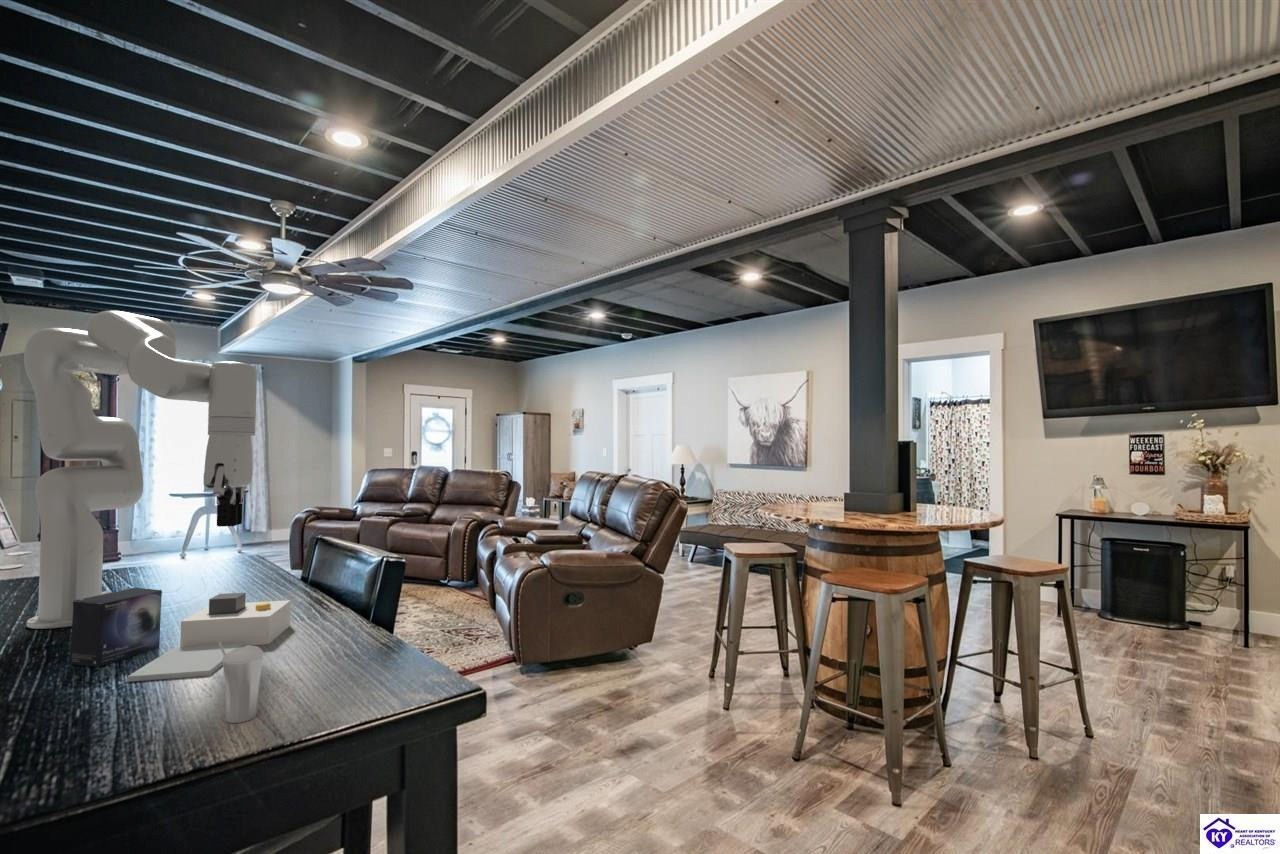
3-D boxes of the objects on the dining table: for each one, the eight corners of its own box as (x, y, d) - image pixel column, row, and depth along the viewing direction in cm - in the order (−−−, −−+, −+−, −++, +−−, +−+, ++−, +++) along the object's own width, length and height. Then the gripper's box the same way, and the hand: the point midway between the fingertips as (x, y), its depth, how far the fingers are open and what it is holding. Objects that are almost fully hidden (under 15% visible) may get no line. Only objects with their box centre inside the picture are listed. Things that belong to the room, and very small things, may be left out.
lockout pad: (174, 652, 107) (174, 647, 107) (245, 647, 109) (245, 642, 109) (127, 681, 93) (127, 676, 93) (209, 675, 95) (209, 670, 96)
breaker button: (218, 625, 116) (219, 593, 117) (244, 624, 117) (245, 592, 118) (208, 632, 112) (209, 599, 112) (235, 630, 113) (236, 598, 113)
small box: (99, 668, 99) (101, 602, 99) (67, 665, 100) (69, 600, 100) (162, 647, 109) (164, 588, 109) (132, 645, 110) (134, 586, 111)
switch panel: (210, 630, 119) (211, 600, 120) (290, 625, 123) (290, 596, 123) (180, 650, 108) (181, 616, 108) (268, 644, 111) (269, 611, 111)
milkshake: (227, 711, 82) (229, 636, 83) (268, 710, 83) (270, 635, 83) (206, 726, 78) (208, 647, 78) (250, 725, 78) (252, 646, 79)
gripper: (227, 428, 123) (224, 521, 122) (189, 426, 108) (186, 531, 107) (268, 429, 125) (266, 520, 124) (237, 426, 109) (234, 530, 109)
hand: (229, 524), depth 115 cm, fingers closed
